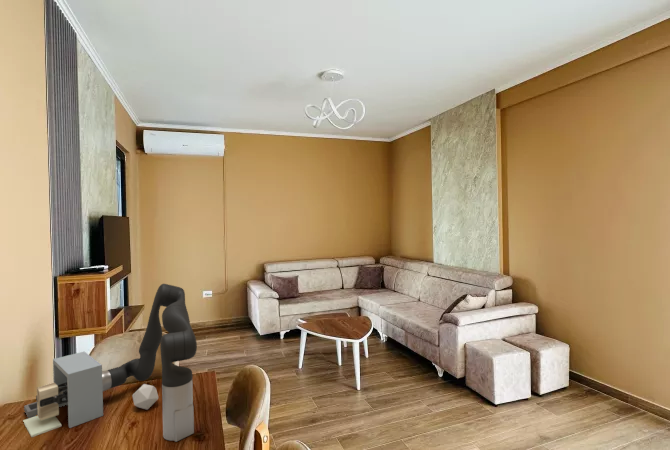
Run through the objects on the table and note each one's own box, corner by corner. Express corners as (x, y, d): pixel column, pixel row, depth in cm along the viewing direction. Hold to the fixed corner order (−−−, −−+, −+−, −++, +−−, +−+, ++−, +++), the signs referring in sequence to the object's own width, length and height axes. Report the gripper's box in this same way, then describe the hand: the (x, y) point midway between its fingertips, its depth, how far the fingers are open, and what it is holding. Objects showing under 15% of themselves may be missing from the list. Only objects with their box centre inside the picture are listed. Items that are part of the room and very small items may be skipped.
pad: (61, 426, 123) (61, 424, 123) (31, 437, 117) (31, 435, 117) (51, 412, 132) (51, 410, 132) (23, 421, 126) (23, 420, 126)
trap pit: (52, 410, 133) (52, 404, 133) (28, 419, 128) (27, 412, 128) (48, 404, 138) (47, 398, 138) (24, 412, 132) (24, 405, 132)
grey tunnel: (103, 415, 129) (101, 364, 129) (69, 428, 122) (68, 374, 122) (85, 397, 143) (84, 351, 143) (54, 407, 135) (52, 359, 135)
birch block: (58, 414, 126) (58, 386, 126) (40, 420, 122) (39, 391, 122) (55, 409, 129) (54, 382, 129) (37, 415, 126) (36, 387, 125)
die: (163, 405, 137) (160, 380, 142) (151, 404, 130) (148, 378, 134) (142, 414, 136) (139, 389, 141) (129, 414, 129) (126, 387, 133)
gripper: (88, 368, 141) (33, 384, 128) (100, 379, 132) (42, 397, 119) (89, 387, 141) (34, 405, 128) (101, 399, 132) (42, 419, 119)
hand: (38, 401), depth 124 cm, fingers closed on birch block, 5 cm apart
